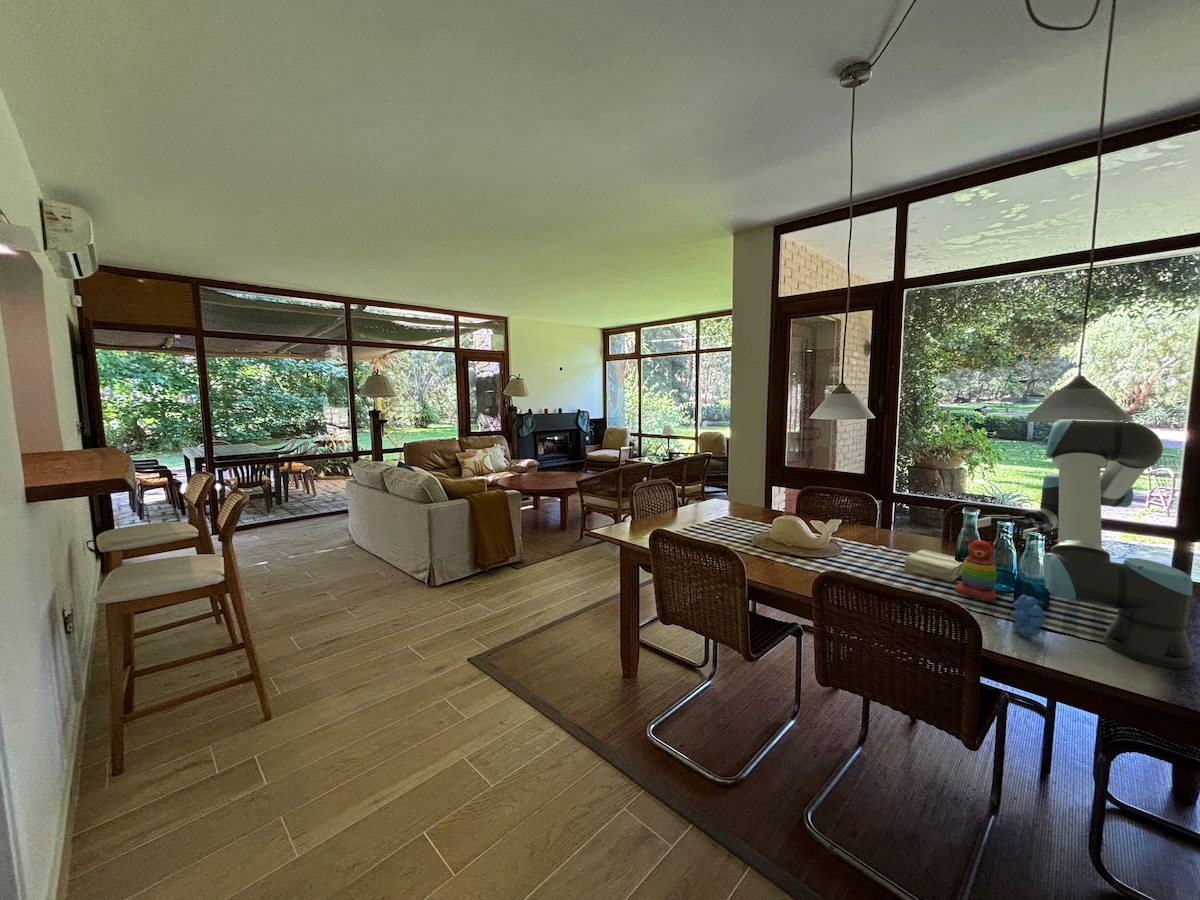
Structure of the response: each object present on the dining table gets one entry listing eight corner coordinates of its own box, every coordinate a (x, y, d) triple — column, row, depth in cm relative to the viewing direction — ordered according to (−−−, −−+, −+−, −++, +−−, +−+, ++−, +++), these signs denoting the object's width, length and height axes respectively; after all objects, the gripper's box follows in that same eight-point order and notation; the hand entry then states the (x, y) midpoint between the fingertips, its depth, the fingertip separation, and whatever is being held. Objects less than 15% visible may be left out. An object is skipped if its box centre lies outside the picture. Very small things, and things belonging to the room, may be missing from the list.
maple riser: (950, 582, 171) (951, 569, 171) (904, 570, 183) (905, 557, 183) (967, 573, 180) (968, 560, 179) (922, 561, 192) (922, 549, 191)
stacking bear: (952, 591, 163) (957, 540, 161) (960, 583, 170) (965, 533, 167) (993, 602, 155) (999, 548, 153) (1000, 593, 162) (1005, 541, 159)
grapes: (1057, 649, 127) (1062, 606, 126) (1026, 646, 129) (1031, 603, 127) (1031, 628, 138) (1035, 587, 137) (1003, 625, 140) (1007, 585, 139)
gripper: (1081, 541, 161) (1044, 551, 153) (996, 522, 184) (960, 529, 176) (1084, 519, 160) (1047, 528, 152) (998, 502, 183) (961, 509, 175)
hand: (1000, 528), depth 164 cm, fingers open, 13 cm apart
